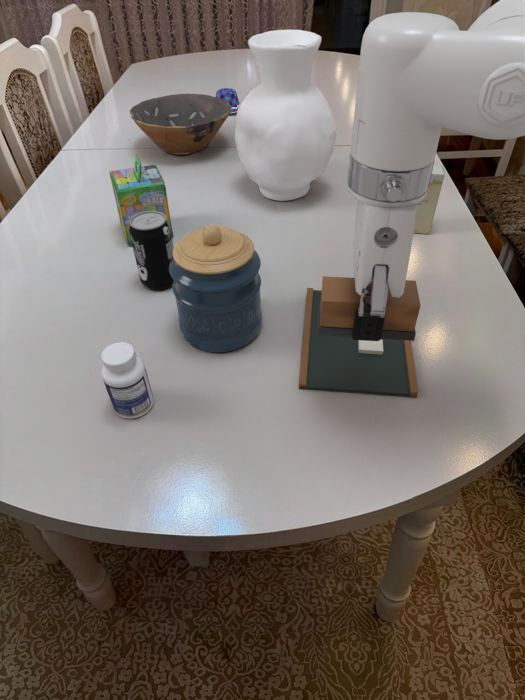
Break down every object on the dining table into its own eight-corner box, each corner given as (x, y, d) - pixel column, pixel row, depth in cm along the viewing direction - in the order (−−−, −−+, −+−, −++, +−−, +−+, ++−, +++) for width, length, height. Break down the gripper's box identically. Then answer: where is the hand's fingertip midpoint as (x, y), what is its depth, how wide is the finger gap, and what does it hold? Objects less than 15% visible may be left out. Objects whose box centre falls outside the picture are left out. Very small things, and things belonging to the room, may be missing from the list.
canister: (219, 291, 85) (209, 194, 73) (279, 321, 79) (279, 221, 67) (163, 330, 78) (141, 231, 66) (223, 367, 72) (212, 265, 60)
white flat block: (381, 343, 74) (382, 339, 73) (382, 355, 72) (383, 351, 72) (358, 341, 74) (358, 337, 74) (358, 353, 73) (359, 349, 72)
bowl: (251, 152, 127) (249, 111, 120) (164, 177, 117) (156, 134, 111) (202, 123, 142) (199, 86, 135) (122, 144, 133) (113, 104, 126)
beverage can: (133, 281, 88) (118, 220, 79) (162, 265, 91) (151, 205, 83) (157, 296, 84) (143, 234, 76) (186, 279, 88) (176, 218, 79)
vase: (279, 163, 122) (279, 19, 101) (348, 191, 110) (364, 35, 90) (222, 189, 112) (209, 36, 92) (291, 222, 101) (294, 56, 80)
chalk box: (120, 225, 102) (103, 153, 92) (165, 216, 104) (152, 145, 94) (128, 248, 96) (110, 173, 85) (174, 238, 98) (162, 165, 87)
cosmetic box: (397, 232, 98) (409, 172, 89) (397, 221, 101) (408, 162, 92) (430, 234, 97) (445, 174, 88) (429, 223, 100) (443, 163, 92)
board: (403, 297, 83) (404, 292, 82) (417, 397, 67) (418, 392, 66) (307, 292, 84) (307, 287, 84) (298, 388, 69) (298, 384, 68)
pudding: (210, 117, 146) (208, 98, 142) (205, 104, 154) (203, 86, 151) (250, 114, 147) (249, 95, 144) (243, 101, 156) (242, 82, 152)
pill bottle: (119, 389, 69) (102, 337, 62) (157, 389, 69) (144, 337, 62) (109, 419, 65) (89, 368, 59) (149, 420, 65) (135, 368, 58)
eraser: (409, 313, 60) (417, 279, 57) (414, 341, 57) (422, 306, 53) (318, 308, 61) (320, 274, 58) (317, 335, 58) (319, 301, 54)
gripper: (444, 222, 40) (404, 377, 52) (419, 139, 52) (391, 281, 64) (349, 218, 40) (332, 372, 53) (347, 138, 53) (333, 278, 65)
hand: (365, 321), depth 59 cm, fingers closed on eraser, 5 cm apart
